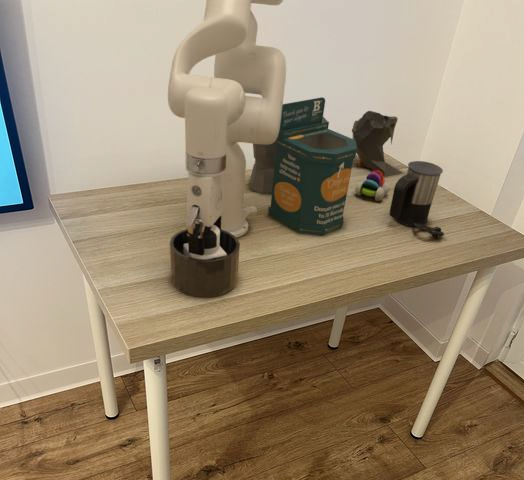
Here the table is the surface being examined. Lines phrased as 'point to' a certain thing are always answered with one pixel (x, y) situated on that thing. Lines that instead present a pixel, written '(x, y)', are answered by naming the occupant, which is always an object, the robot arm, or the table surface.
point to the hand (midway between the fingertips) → (205, 242)
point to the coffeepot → (263, 168)
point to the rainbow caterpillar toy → (373, 186)
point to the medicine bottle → (208, 244)
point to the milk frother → (416, 196)
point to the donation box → (310, 170)
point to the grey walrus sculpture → (374, 141)
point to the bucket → (204, 267)
